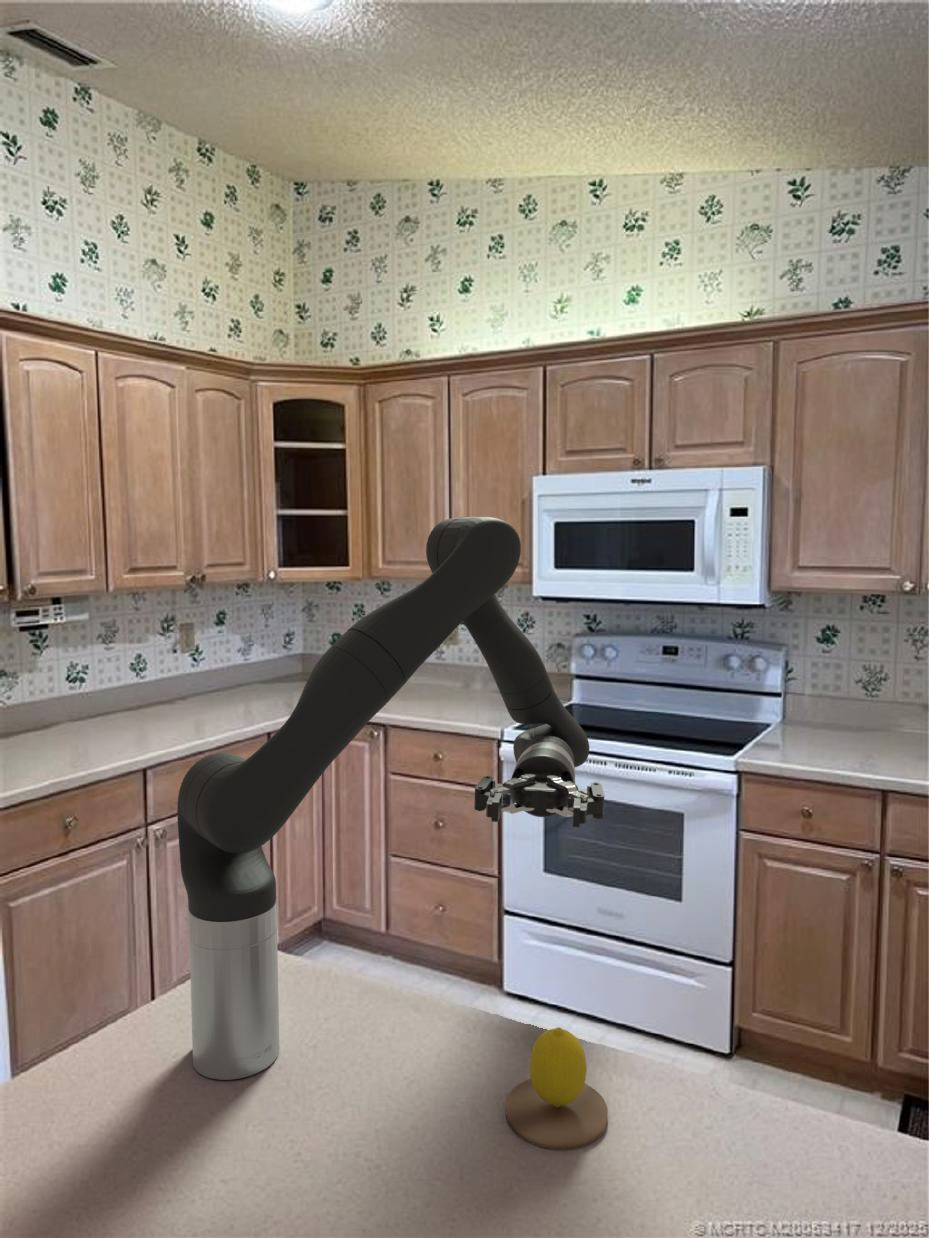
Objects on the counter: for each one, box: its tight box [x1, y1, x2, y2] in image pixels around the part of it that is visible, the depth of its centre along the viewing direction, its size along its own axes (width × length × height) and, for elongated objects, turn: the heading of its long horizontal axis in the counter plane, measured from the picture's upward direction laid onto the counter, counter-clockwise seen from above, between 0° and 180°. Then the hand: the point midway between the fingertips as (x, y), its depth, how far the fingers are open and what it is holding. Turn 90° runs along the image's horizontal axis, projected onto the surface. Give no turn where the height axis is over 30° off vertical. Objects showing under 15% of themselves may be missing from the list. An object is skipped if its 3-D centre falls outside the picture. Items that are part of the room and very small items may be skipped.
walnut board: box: [505, 1078, 609, 1151], centre depth 86 cm, size 10×10×1 cm
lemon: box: [529, 1027, 588, 1107], centre depth 85 cm, size 6×6×8 cm
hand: (535, 815), depth 91 cm, fingers open, 8 cm apart
